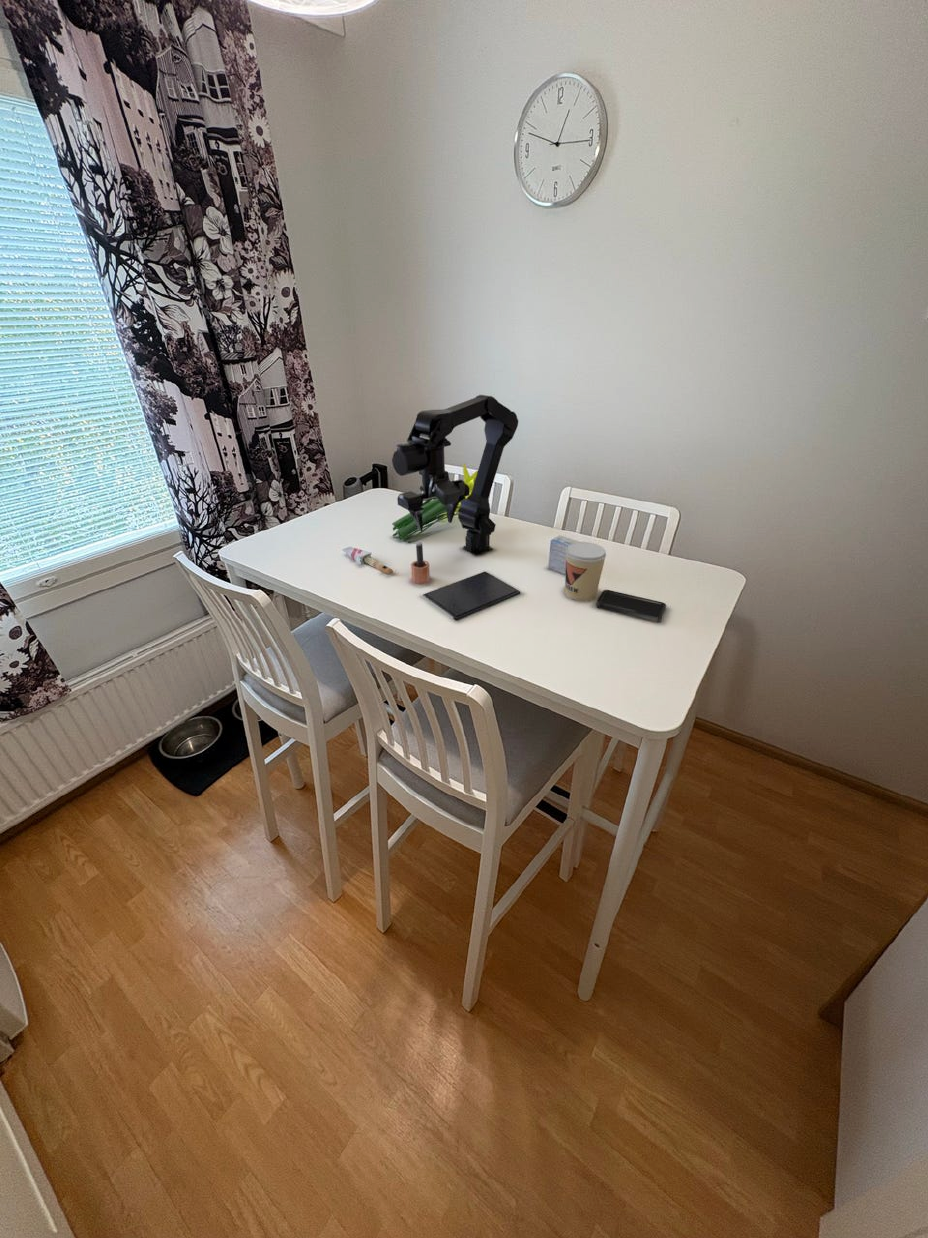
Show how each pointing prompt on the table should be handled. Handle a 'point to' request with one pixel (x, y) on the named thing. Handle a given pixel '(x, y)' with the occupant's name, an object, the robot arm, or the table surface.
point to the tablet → (471, 595)
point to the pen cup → (420, 573)
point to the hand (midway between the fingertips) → (435, 526)
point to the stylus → (419, 554)
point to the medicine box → (559, 553)
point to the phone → (631, 605)
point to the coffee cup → (583, 570)
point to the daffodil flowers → (429, 512)
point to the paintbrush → (366, 559)
